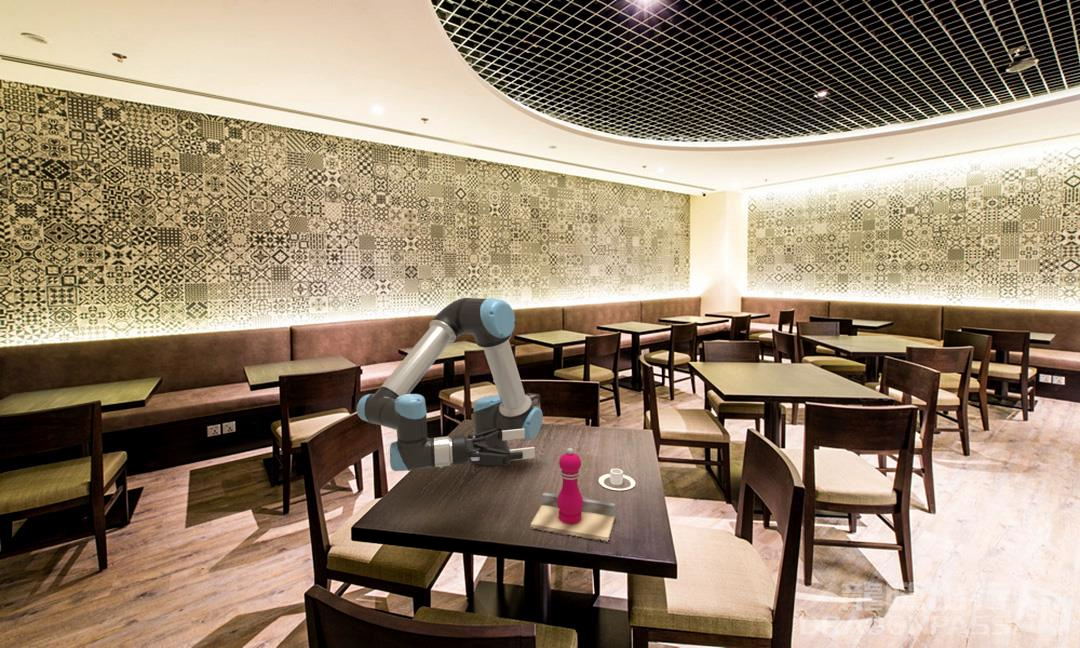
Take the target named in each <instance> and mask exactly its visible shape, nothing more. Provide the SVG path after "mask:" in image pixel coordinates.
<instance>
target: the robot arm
mask: <svg viewBox="0 0 1080 648" xmlns="http://www.w3.org/2000/svg"><path fill="white" fill-rule="evenodd" d="M515 322H516V317H515V312H514V310H513V308H512V306H511V305H510V304H509V303H508V302H506V301H505V300H503V299H497V298H492V297H488V298H477V297H476V298H475V297H474V298H473V297H461V298H458V299H456V300H454V301H452V302H451V303H449V304H447V305H446V306H445V307H444V308H443V309H442V310H440V311H439V312H438V313H437V314H436V315H435V316H434V317H433V318H432V320H431V321H430V322H429V327H428V330H427V331H426V332H425V333H424V334H423V336H422V337H421V338H420V339H419V340H418V341H417V343H416V344H415V345H414V346H413V347H412V349H411V350H410V351H409V352H408V353H407V355H406V356H405V357H404V359H403V360H402V361H401V362H400V363H399V364H398V365H397V366H396V368H395V369H394V370H393V372H392V373H391V374H390V375H389V376H388V377H387V379H386V380H385V381H384V382H383V384H381V385H380V387H379V388H378V390H377V391H375V393H368V394H365V395H363V396H362V397H361V398H360V399H359V401H358V403H357V404H356V414H357V416H358V417H359V418H360V419H361V420H362V421H365V422H367V423H369V424H372V425H379V426H383V427H385V428H389V429H392V430H396V436H397V437H396V438H397V439H396V441H393V442H391V443H390V446H389V465H390V469H391V470H392V472H403V471H408V472H410V471H415V470H416V471H417V470H422V469H431V468H438V467H439V468H440V469H441V468H443V467H448V466H451V464H452V465H454V466H459V465H465V464H467V462H468V459H470V462H471V464H473V465H474V464H475V465H479V466H484V467H485V466H487V467H491V466H506V467H507V466H510V465H511V461H519V460H527V459H535V458H536V448H535V447H534V446H531V447H529V446H528V447H522V448H514V449H513V448H510V445H509V443H508V441H512V440H521V441H522V440H523V441H524V440H525V441H532V440H533V439H535V438H536V437H537V436H538V434H539V432H540V431H541V427H542V425H543V417H544V415H543V411H542V409H541V408H540V409H539V408H538V407H533V404H532V401H531V399H530V397H529V396H527V395H525V389H524V387H523V383H522V379H521V377H520V373H519V370H518V367H517V362H516V360H515V357H514V353H513V350H512V346H511V343H510V339H511V338H512V335H513V334H512V333H513V332H514V330H515ZM462 335H470V336H473V337H474V340H475V343H476V346H477V347H479V348H481V349H483V352H484V355H485V358H486V360H487V361H486V362H487V364H488V367H489V370H490V372H491V375H492V378H493V382H494V384H495V387H496V392H497V394H493V395H486V396H482V397H479V398H477V399H476V400H475V401H474V403H473V411H472V412H473V432H474V433H473V434H469V435H467V438H466V435H464V434H463V435H462V434H461V435H459V434H458V435H453V436H451V437H450V436H439V437H431V438H428V424H427V405H426V399H425V396H423V395H421V394H419V393H411V392H412V391H413V390H414V388H415V387H416V386H417V385H418V384H419V382H420V381H421V379H422V378H423V377H424V376H425V374H426V373H427V372H428V371H429V370H430V368H431V367H432V366H433V364H434V363H435V361H436V360H438V358H439V356H441V354H442V353H443V351H444V350H445V349H446V347H447V346H448V345H449V344H452V343H455V341H456V340H457V339H458V337H461V336H462Z"/></svg>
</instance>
